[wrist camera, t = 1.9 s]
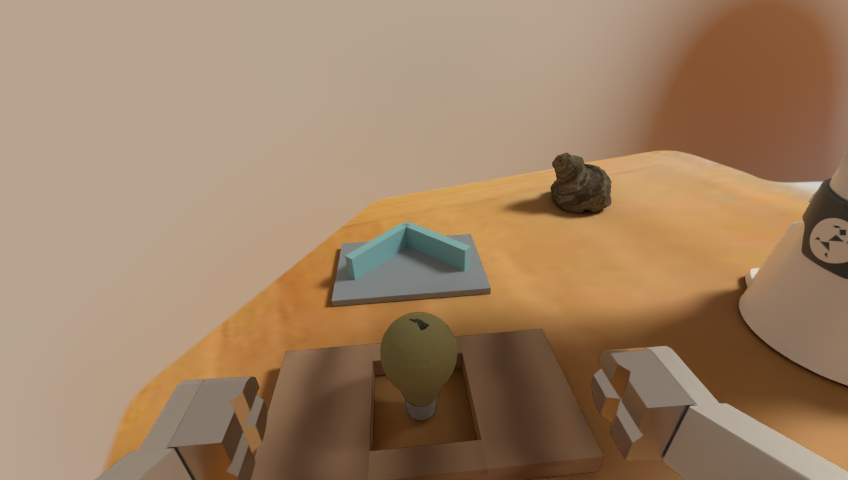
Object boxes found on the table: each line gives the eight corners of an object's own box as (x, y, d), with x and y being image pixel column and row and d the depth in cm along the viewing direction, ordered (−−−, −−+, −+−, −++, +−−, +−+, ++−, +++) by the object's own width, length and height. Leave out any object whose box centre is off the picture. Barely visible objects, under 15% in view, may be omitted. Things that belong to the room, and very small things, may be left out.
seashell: (537, 153, 66) (530, 173, 58) (608, 118, 59) (610, 135, 51) (566, 207, 69) (563, 233, 61) (636, 179, 62) (642, 205, 54)
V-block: (470, 239, 54) (471, 215, 52) (490, 293, 44) (492, 266, 42) (342, 248, 53) (338, 224, 51) (332, 306, 43) (326, 279, 41)
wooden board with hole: (539, 343, 37) (542, 328, 36) (597, 471, 27) (603, 456, 26) (290, 366, 36) (285, 351, 35) (252, 509, 26) (243, 495, 25)
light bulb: (462, 391, 33) (465, 303, 28) (447, 453, 28) (446, 363, 23) (401, 376, 34) (393, 290, 29) (377, 433, 30) (362, 344, 25)
